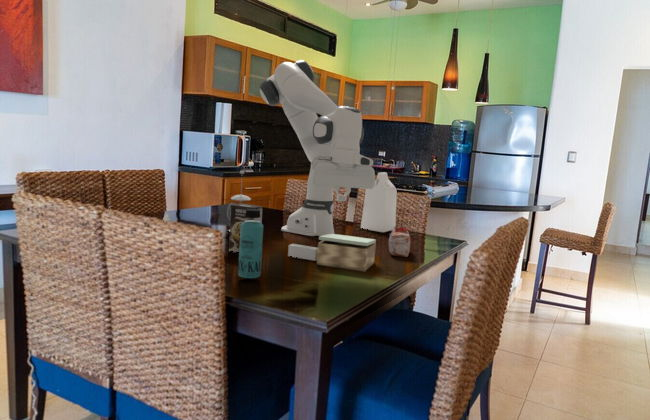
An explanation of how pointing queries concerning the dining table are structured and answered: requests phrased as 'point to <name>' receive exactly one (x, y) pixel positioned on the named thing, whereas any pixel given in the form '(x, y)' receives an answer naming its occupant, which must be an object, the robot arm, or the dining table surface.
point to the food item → (399, 242)
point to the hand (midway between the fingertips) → (341, 201)
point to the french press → (239, 197)
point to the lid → (347, 239)
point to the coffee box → (239, 223)
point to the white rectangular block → (303, 251)
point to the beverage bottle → (250, 246)
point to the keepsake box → (345, 255)
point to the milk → (380, 205)
